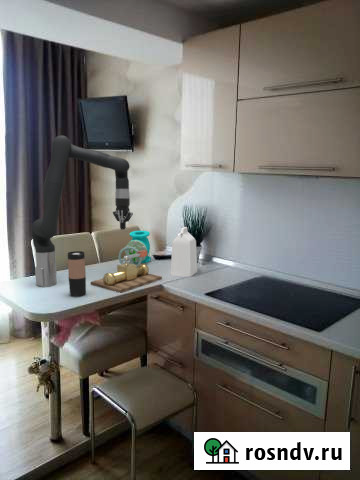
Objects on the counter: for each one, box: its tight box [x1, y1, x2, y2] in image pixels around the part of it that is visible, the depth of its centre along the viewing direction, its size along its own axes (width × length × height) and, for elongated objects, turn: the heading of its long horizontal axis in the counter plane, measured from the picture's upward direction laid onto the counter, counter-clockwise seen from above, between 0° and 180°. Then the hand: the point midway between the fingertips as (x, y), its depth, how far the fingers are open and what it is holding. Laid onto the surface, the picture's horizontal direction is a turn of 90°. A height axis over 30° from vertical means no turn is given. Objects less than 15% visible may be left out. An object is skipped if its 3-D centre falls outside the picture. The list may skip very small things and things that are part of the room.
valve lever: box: [123, 250, 147, 260], centre depth 205 cm, size 3×16×3 cm, turn 143°
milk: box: [170, 226, 198, 278], centre depth 217 cm, size 12×12×26 cm
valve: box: [118, 230, 152, 267], centre depth 238 cm, size 14×18×30 cm
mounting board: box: [90, 273, 163, 294], centre depth 202 cm, size 30×22×2 cm
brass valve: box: [102, 259, 149, 286], centre depth 201 cm, size 28×7×11 cm, turn 142°
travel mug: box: [67, 250, 87, 298], centre depth 180 cm, size 8×8×20 cm
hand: (122, 229), depth 211 cm, fingers closed
